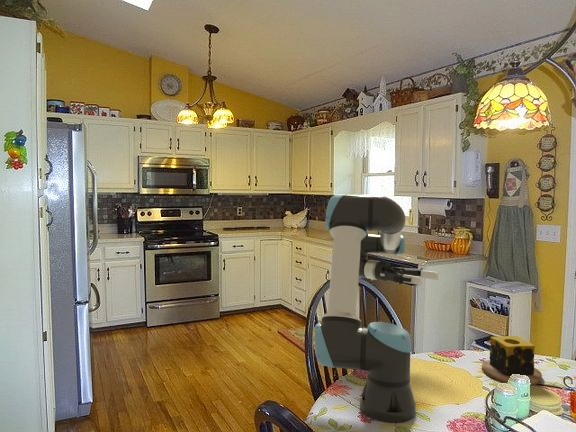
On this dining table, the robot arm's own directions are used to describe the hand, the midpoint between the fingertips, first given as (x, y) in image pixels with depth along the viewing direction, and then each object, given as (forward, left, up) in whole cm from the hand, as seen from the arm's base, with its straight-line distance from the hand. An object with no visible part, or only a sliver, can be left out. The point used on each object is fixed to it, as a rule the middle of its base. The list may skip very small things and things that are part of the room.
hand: (429, 278), depth 155 cm
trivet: (+9, -26, -30) cm, 41 cm away
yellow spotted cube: (+9, -26, -29) cm, 40 cm away
